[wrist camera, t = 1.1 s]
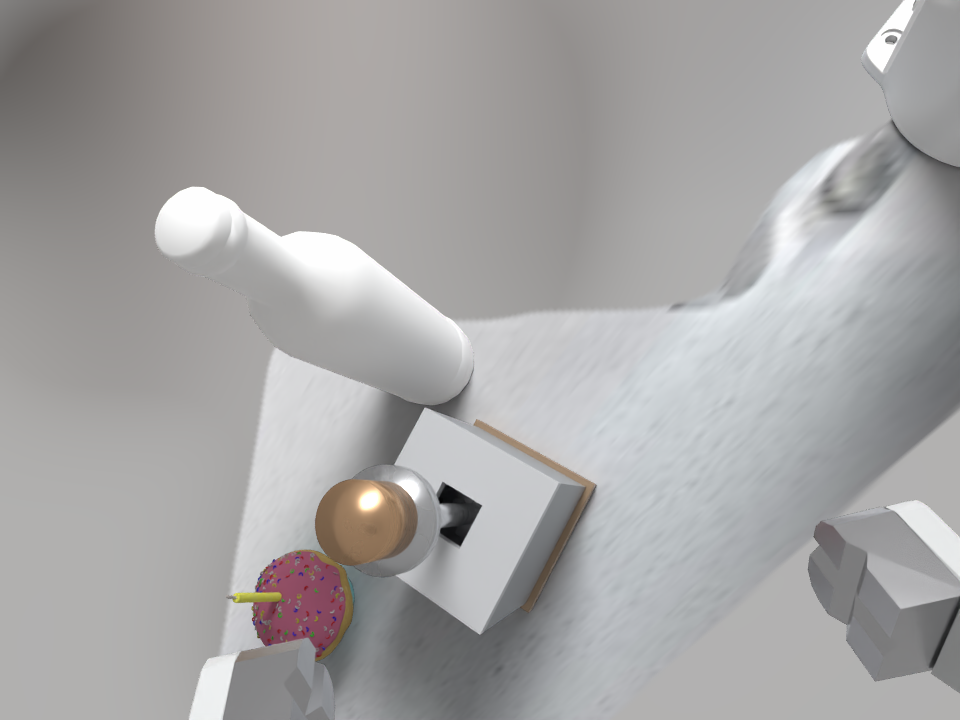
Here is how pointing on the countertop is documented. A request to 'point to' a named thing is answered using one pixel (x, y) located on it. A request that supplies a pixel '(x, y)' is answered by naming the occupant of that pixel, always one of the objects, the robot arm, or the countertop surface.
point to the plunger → (390, 520)
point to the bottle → (320, 299)
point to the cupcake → (302, 601)
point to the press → (492, 518)
